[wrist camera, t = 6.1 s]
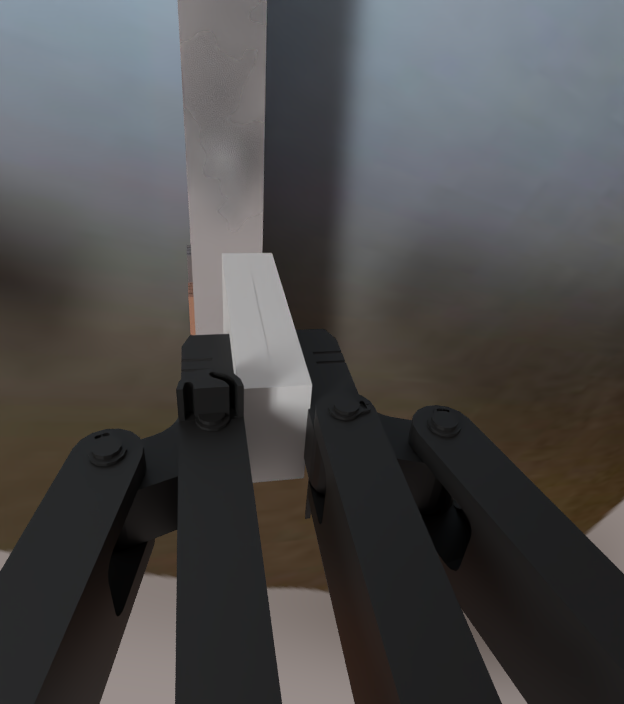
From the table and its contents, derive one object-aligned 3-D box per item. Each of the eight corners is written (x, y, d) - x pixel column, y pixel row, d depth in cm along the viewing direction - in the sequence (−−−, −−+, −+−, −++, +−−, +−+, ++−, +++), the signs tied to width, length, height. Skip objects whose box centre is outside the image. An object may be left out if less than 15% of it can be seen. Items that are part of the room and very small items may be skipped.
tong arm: (278, -605, 13) (289, -672, 11) (260, 374, 27) (264, 392, 26) (134, -650, 12) (128, -725, 11) (193, 378, 26) (194, 396, 25)
